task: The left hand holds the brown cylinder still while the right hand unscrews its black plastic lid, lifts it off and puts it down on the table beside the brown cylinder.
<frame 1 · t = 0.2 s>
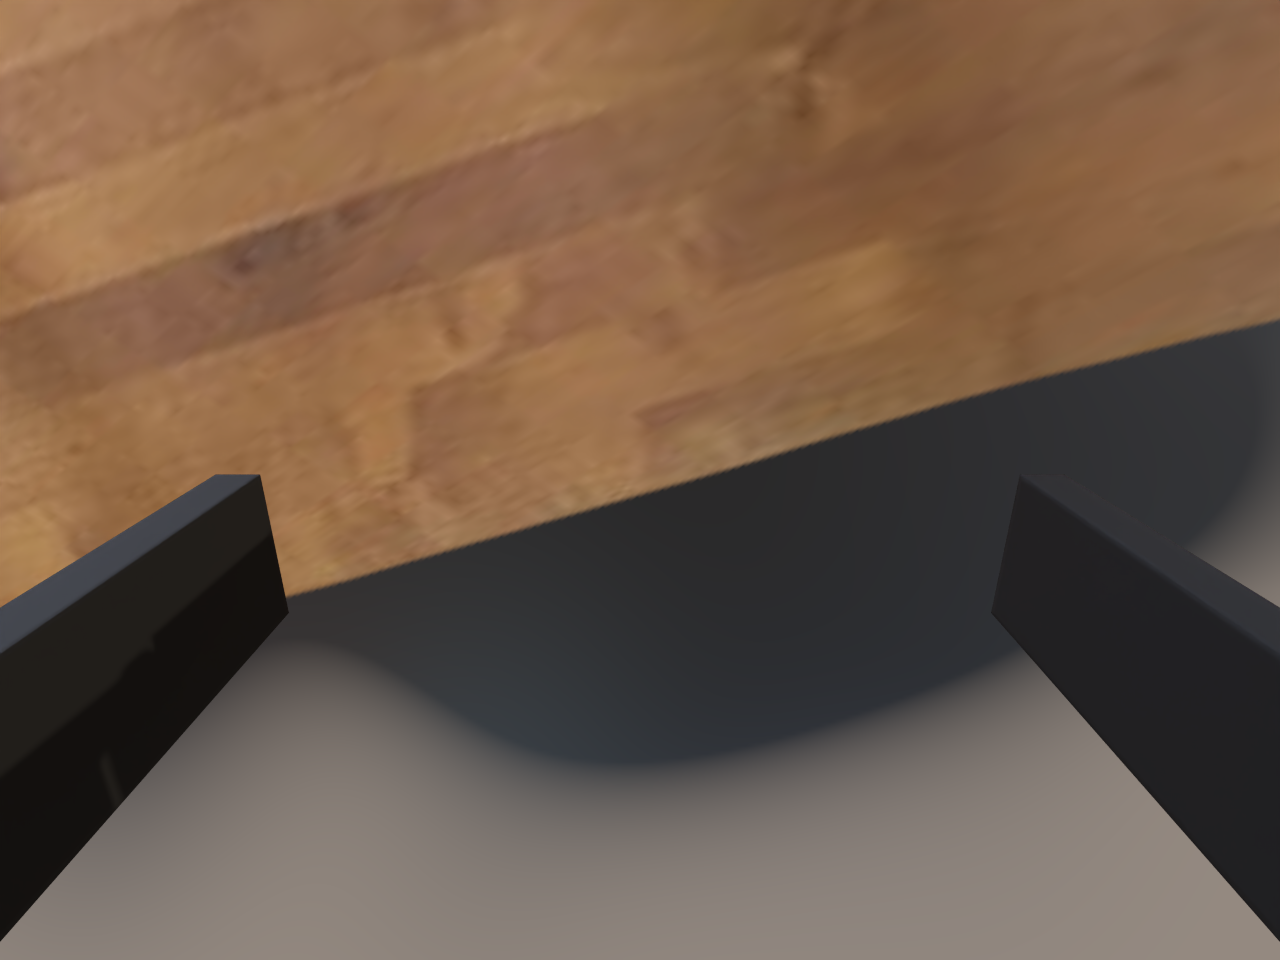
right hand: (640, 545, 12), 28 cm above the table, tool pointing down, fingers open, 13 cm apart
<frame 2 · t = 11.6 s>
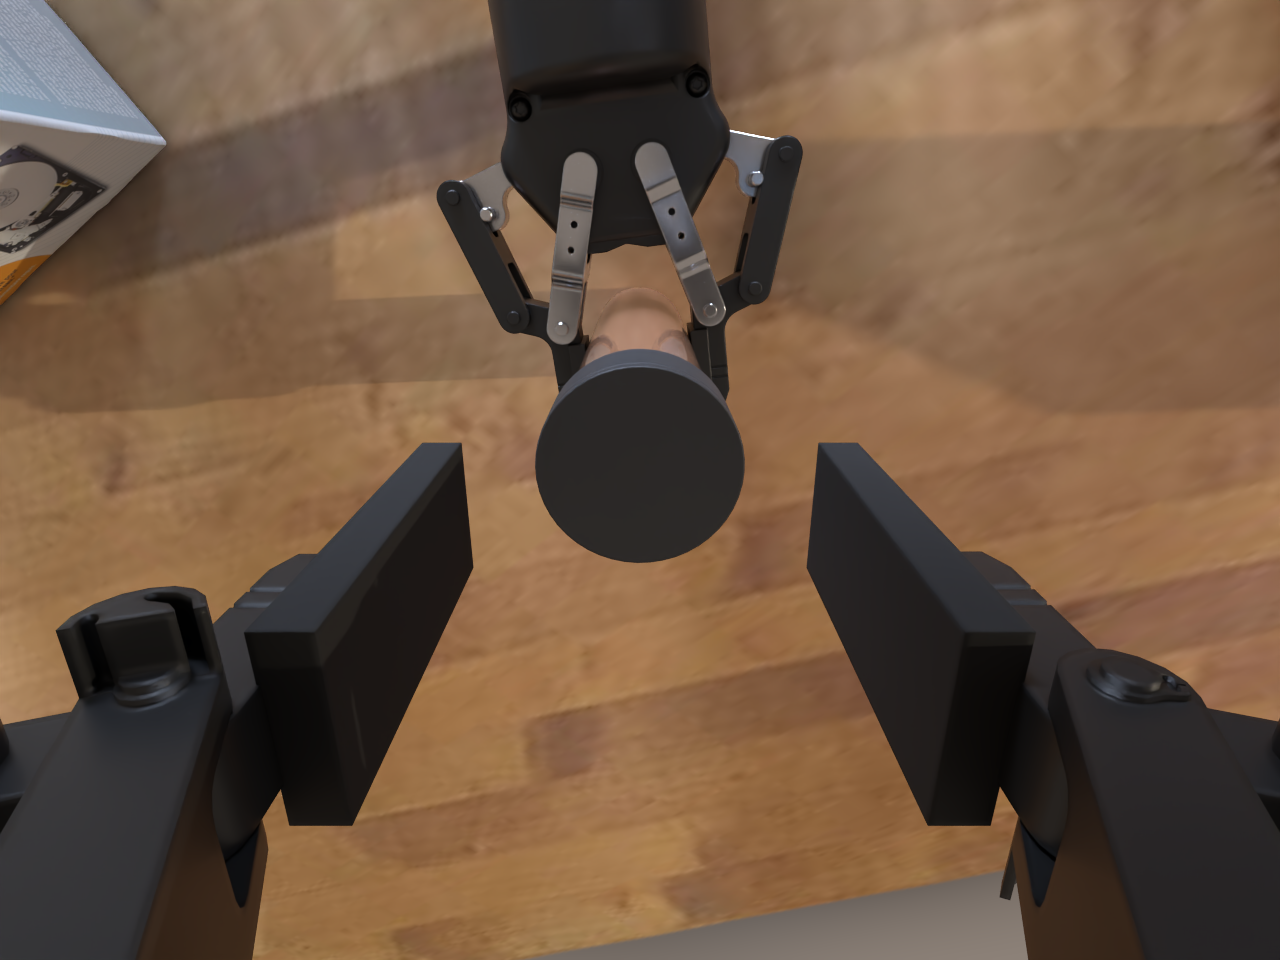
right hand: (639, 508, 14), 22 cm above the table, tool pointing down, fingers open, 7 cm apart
left hand: (648, 417, 30), fingers closed on brown cylinder, 4 cm apart
hard drive box: (3, 178, 32), on the table
lid: (639, 464, 16), point 20 cm above the table, screwed on, not yet turned
brown cylinder: (640, 331, 35), on the table, touching left hand
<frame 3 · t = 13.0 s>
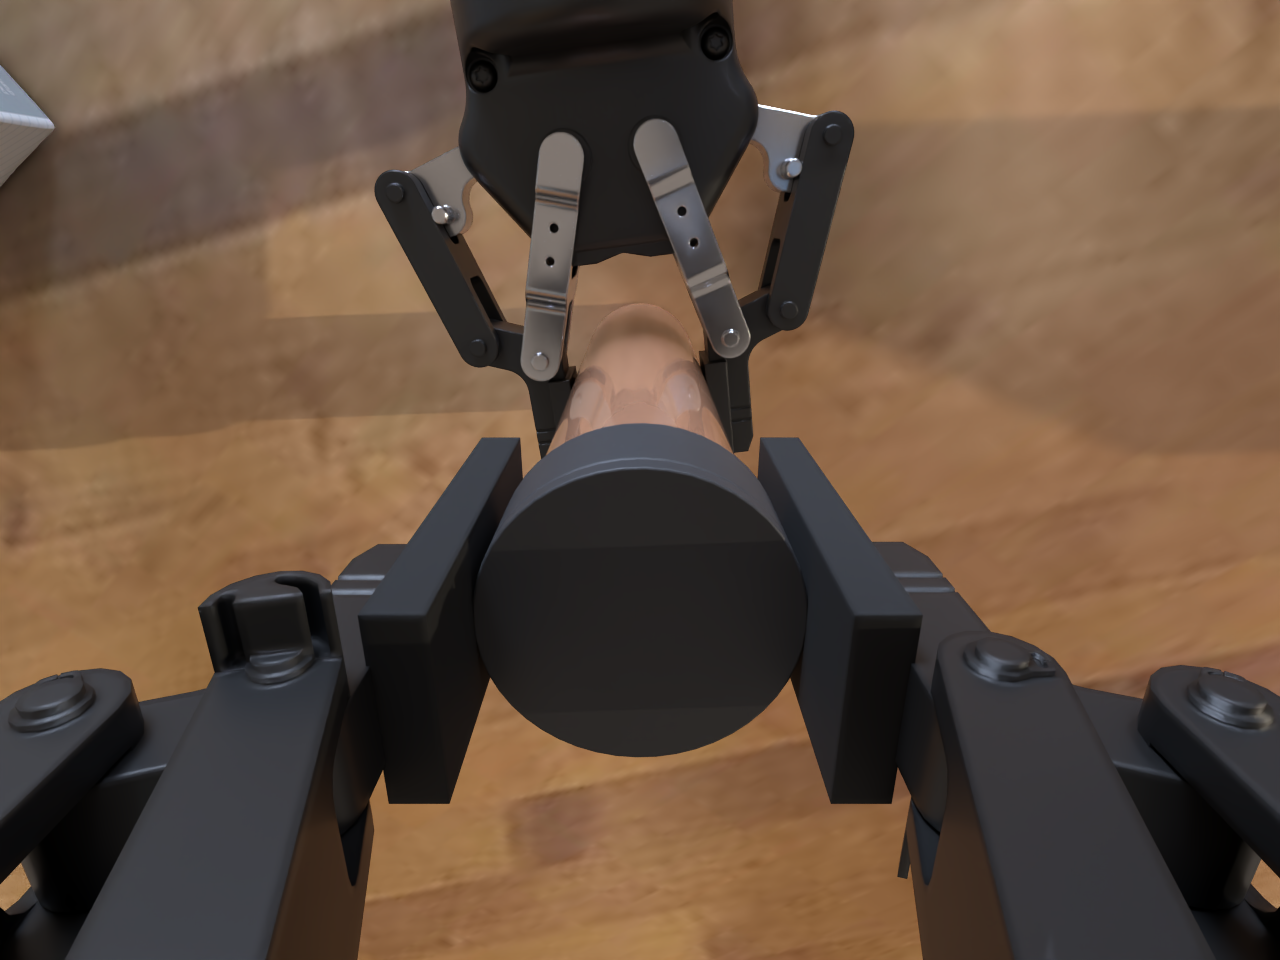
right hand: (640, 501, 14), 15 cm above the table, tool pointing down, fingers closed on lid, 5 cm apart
left hand: (650, 469, 24), fingers closed on brown cylinder, 4 cm apart
lid: (640, 612, 10), point 20 cm above the table, screwed on, not yet turned, touching right hand
brown cylinder: (640, 355, 29), on the table, touching left hand
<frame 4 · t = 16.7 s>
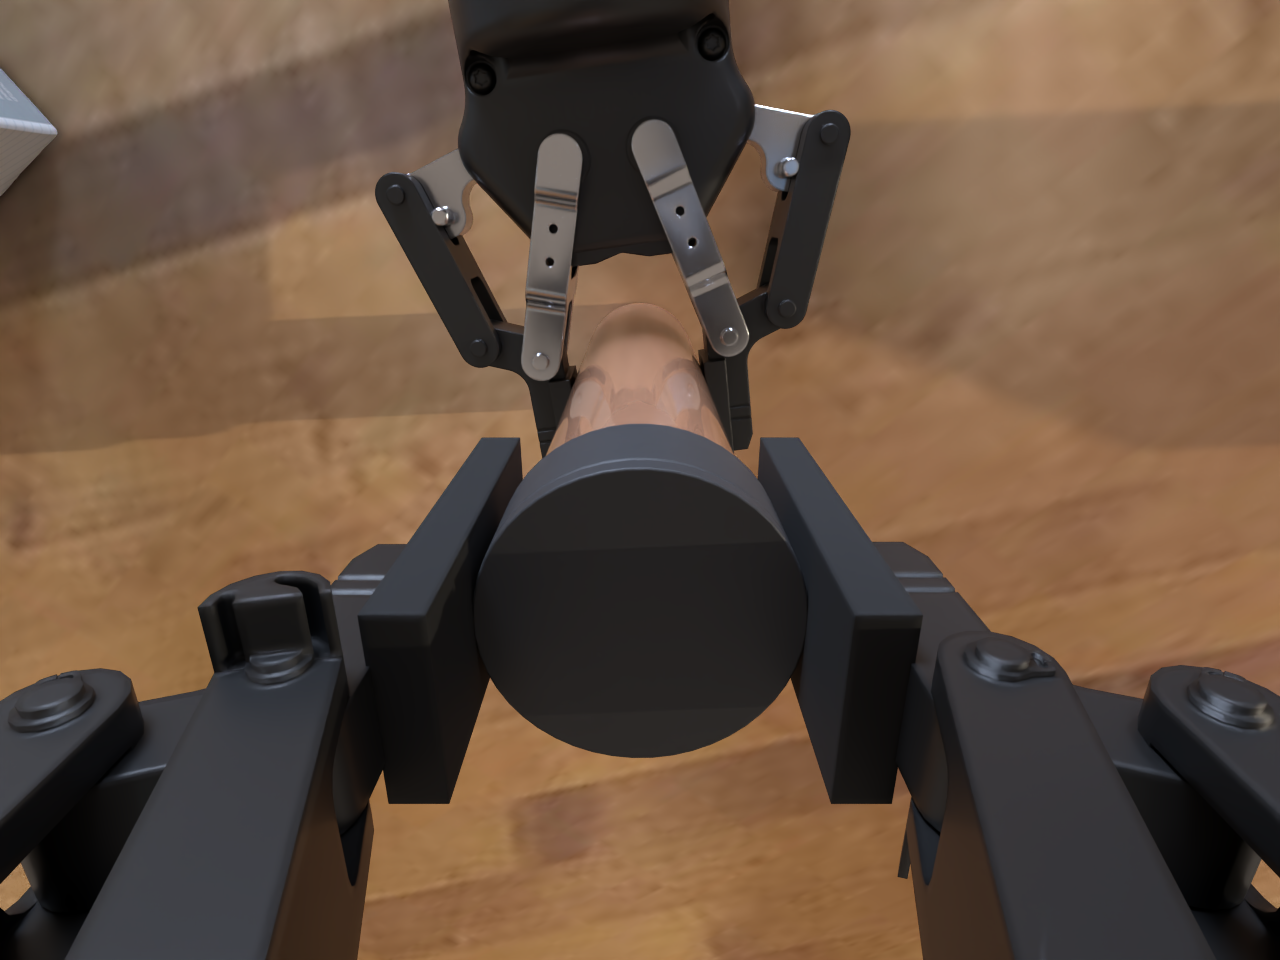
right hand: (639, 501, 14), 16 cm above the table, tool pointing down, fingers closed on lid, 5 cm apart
left hand: (651, 467, 24), fingers closed on brown cylinder, 4 cm apart
lid: (640, 612, 10), point 20 cm above the table, turned 111° so far, risen 0.2 cm, still on its thread, touching right hand
brown cylinder: (640, 355, 29), on the table, touching left hand
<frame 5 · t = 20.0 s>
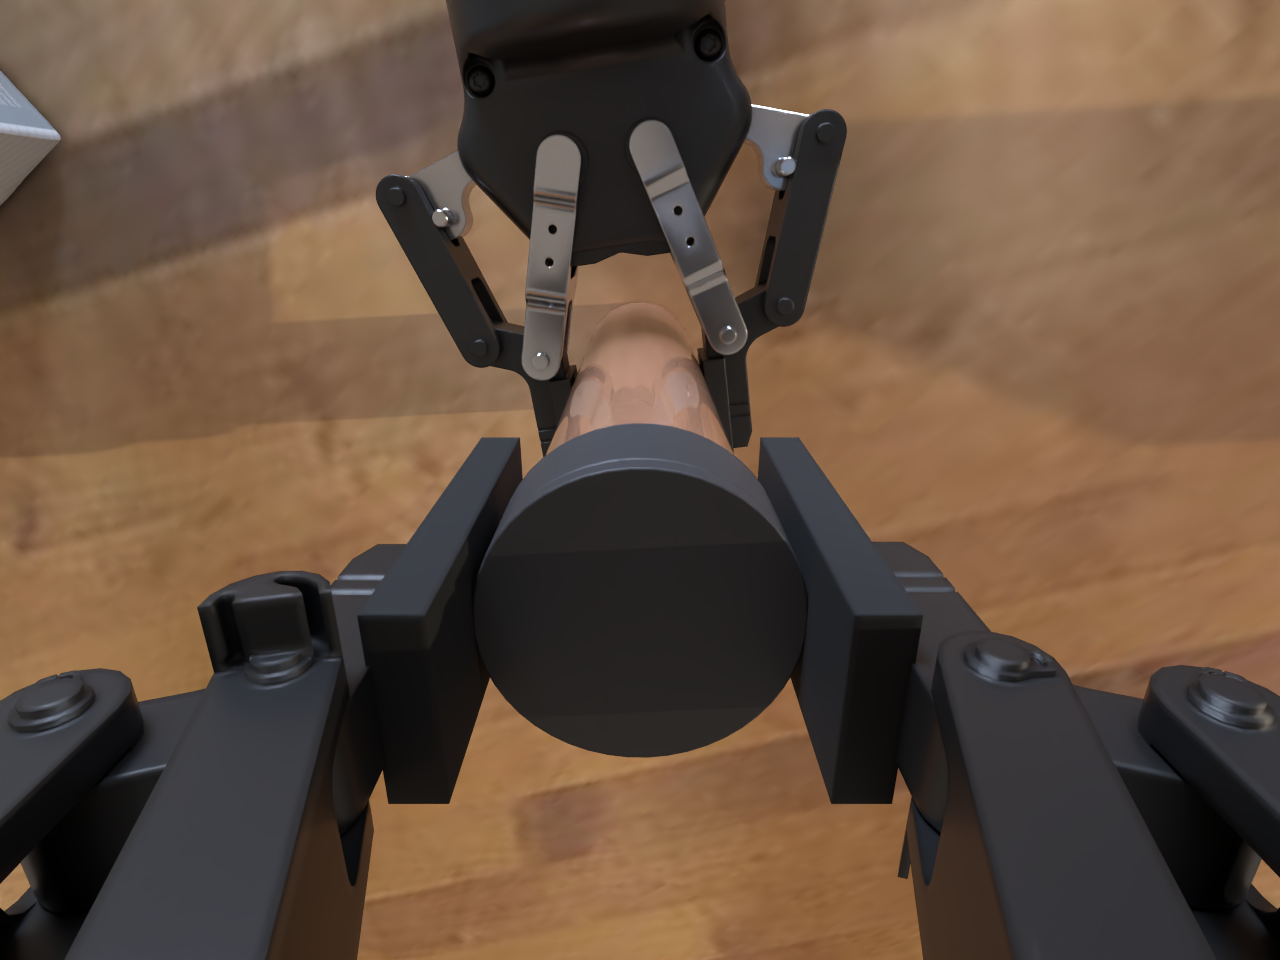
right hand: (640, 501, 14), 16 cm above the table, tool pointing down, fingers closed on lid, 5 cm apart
left hand: (651, 465, 24), fingers closed on brown cylinder, 4 cm apart
lid: (640, 612, 10), point 20 cm above the table, turned 221° so far, risen 0.3 cm, still on its thread, touching right hand
brown cylinder: (640, 354, 29), on the table, touching left hand
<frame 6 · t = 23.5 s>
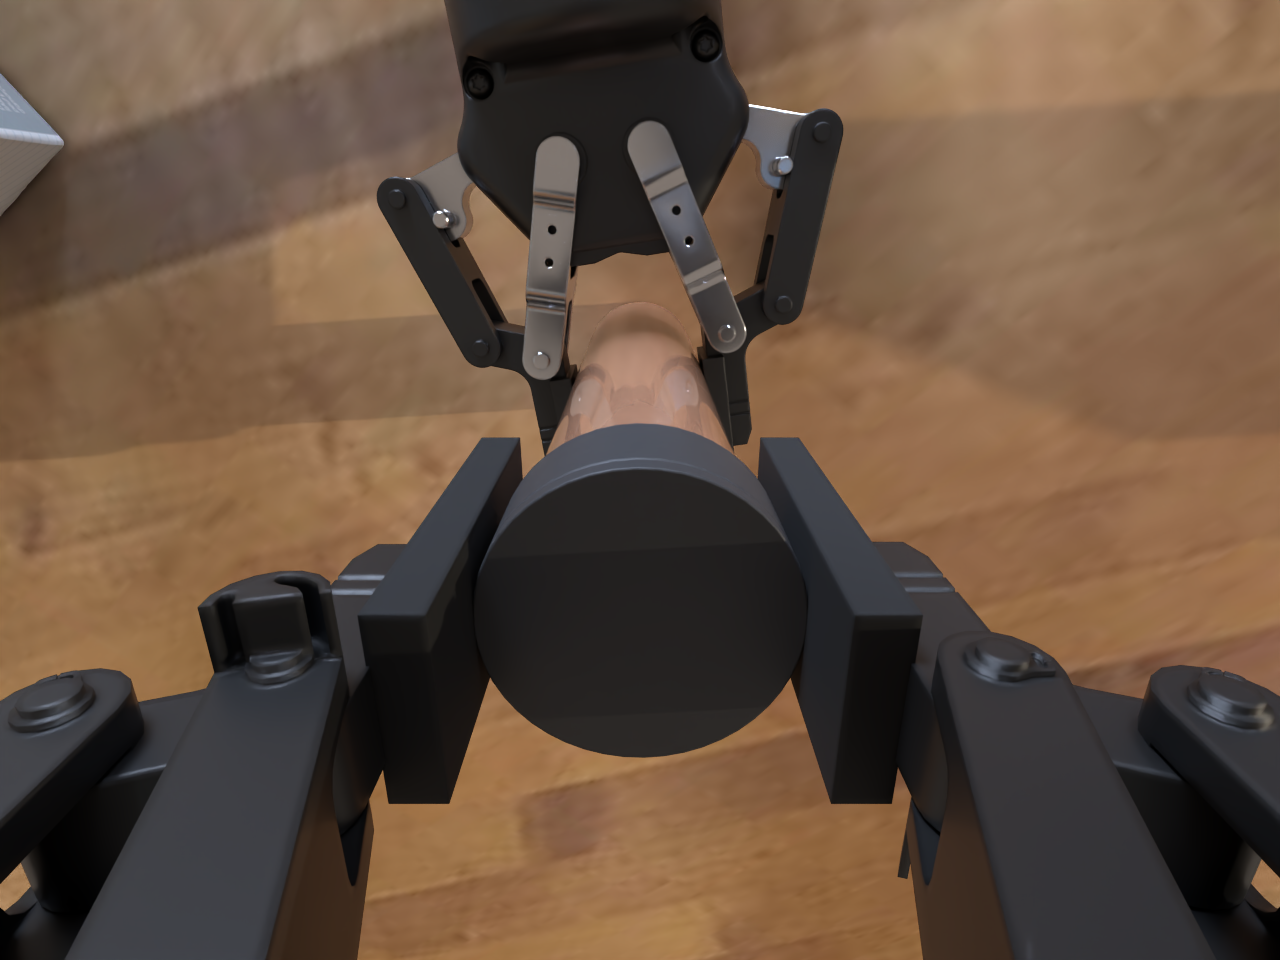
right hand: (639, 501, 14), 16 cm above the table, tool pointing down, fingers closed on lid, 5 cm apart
left hand: (652, 464, 24), fingers closed on brown cylinder, 4 cm apart
lid: (640, 612, 10), point 20 cm above the table, turned 332° so far, risen 0.5 cm, still on its thread, touching right hand
brown cylinder: (640, 353, 29), on the table, touching left hand
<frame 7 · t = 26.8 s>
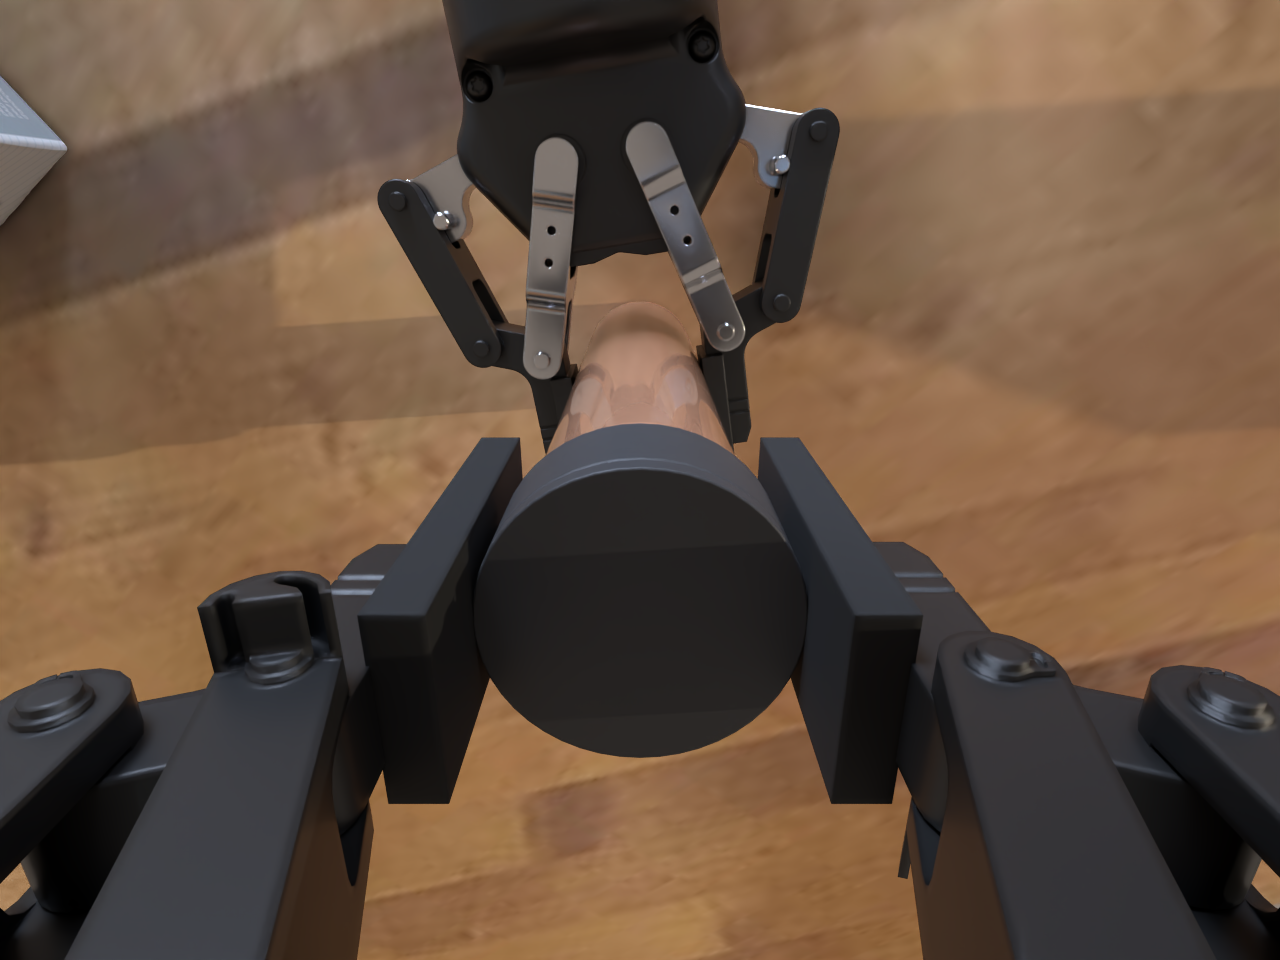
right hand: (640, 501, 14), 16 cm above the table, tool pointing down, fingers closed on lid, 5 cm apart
left hand: (652, 462, 24), fingers closed on brown cylinder, 4 cm apart
lid: (640, 612, 10), point 20 cm above the table, turned 442° so far, risen 0.7 cm, still on its thread, touching right hand
brown cylinder: (640, 352, 29), on the table, touching left hand
when the right hand's fingers open (0 cm above the table, at t = 34.8 s): lid drops 3 cm, point 2 cm above the table.
when the left hand's fingers open (6 cm above the table, at t = 35.4 s): brown cylinder stays where it is, on the table.
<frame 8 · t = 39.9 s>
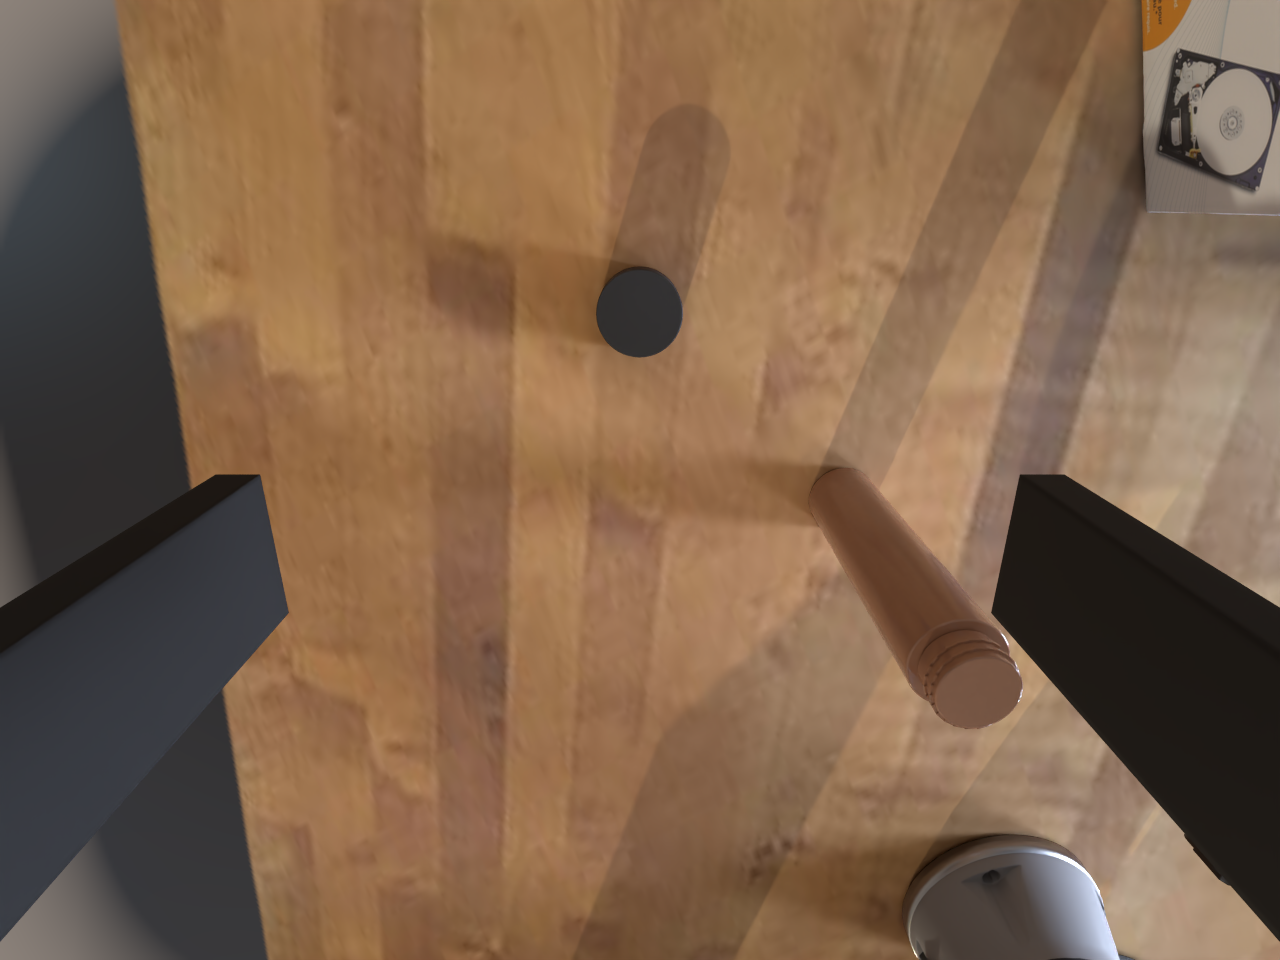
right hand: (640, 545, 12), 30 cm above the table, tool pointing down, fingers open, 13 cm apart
hard drive box: (1209, 43, 36), on the table
lid: (639, 313, 39), point 2 cm above the table, off its thread
brown cylinder: (841, 498, 45), on the table
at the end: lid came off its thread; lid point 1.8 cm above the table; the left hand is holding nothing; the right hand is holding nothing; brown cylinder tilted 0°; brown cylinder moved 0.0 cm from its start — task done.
